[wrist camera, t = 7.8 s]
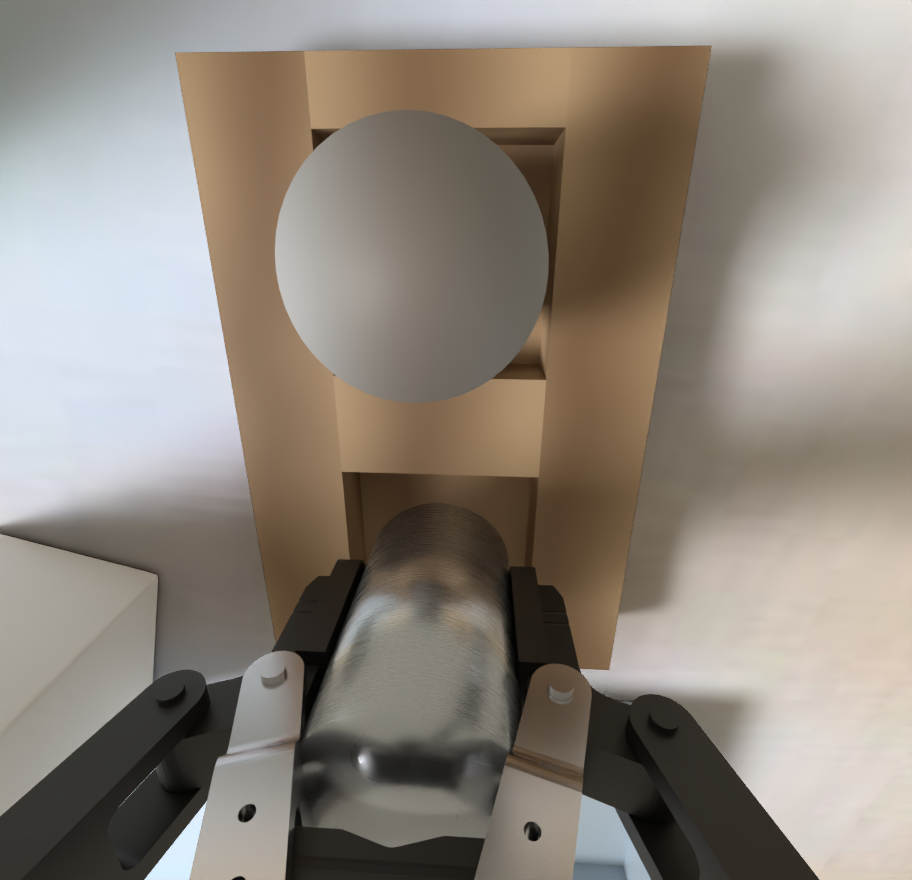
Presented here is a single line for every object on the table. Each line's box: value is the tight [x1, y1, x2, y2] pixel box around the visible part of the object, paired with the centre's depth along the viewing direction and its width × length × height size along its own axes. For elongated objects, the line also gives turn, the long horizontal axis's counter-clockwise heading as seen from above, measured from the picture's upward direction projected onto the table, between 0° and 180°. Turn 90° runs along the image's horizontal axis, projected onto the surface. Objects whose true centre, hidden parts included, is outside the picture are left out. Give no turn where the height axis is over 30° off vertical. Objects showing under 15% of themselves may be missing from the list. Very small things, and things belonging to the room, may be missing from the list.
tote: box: [573, 701, 651, 880], centre depth 22 cm, size 15×11×3 cm
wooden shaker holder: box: [175, 46, 711, 670], centre depth 13 cm, size 12×18×8 cm, turn 0°
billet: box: [300, 503, 522, 848], centre depth 12 cm, size 4×4×7 cm
